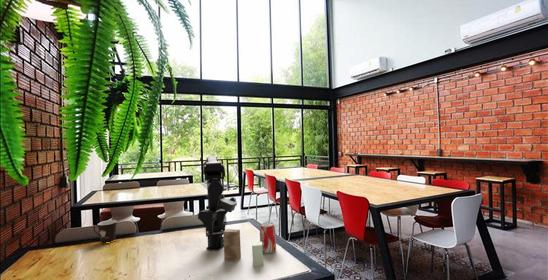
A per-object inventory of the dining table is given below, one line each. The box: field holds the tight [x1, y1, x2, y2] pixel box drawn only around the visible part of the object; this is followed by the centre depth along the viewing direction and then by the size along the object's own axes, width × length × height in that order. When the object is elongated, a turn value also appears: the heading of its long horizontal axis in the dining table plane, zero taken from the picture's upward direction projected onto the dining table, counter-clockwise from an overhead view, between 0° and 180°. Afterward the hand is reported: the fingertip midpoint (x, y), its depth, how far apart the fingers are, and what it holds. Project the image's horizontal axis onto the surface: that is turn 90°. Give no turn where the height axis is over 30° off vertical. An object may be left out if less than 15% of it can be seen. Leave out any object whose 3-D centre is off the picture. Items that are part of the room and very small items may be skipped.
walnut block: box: [222, 228, 242, 262], centre depth 119 cm, size 6×4×12 cm, turn 73°
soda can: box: [259, 222, 277, 254], centre depth 126 cm, size 7×7×12 cm
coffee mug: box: [92, 220, 118, 243], centre depth 150 cm, size 12×9×10 cm
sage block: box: [251, 241, 264, 267], centre depth 114 cm, size 4×4×8 cm
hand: (216, 231), depth 115 cm, fingers open, 9 cm apart
